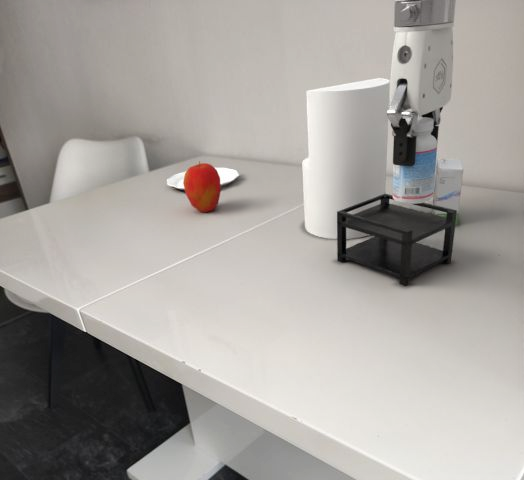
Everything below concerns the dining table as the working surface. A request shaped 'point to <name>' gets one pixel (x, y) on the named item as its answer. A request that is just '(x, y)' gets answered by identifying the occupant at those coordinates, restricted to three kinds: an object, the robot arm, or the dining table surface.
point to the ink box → (447, 185)
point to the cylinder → (344, 152)
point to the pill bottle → (417, 167)
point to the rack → (395, 237)
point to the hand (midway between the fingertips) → (415, 158)
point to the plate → (224, 173)
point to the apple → (202, 186)
